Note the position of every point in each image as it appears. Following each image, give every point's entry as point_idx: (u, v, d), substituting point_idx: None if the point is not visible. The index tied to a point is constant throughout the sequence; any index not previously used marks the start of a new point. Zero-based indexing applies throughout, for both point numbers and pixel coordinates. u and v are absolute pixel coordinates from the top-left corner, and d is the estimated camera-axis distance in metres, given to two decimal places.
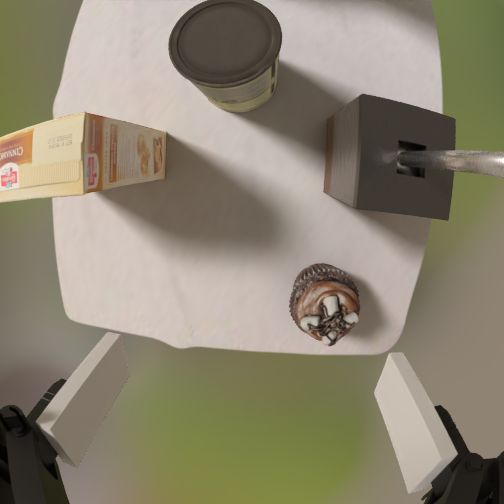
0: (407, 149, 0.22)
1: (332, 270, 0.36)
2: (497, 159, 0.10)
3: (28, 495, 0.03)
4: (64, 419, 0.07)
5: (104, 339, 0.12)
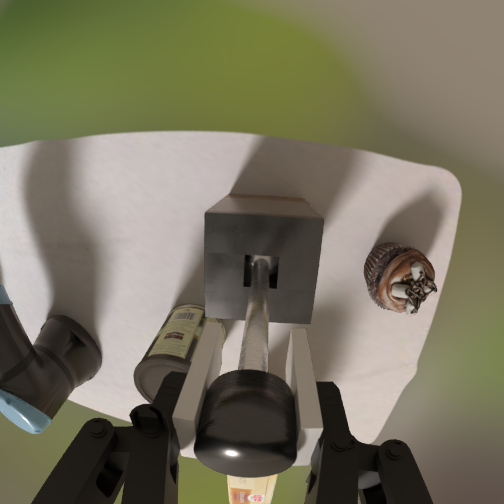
0: (251, 261, 0.27)
1: (370, 273, 0.36)
2: None
3: (143, 502, 0.05)
4: (199, 408, 0.09)
5: (208, 329, 0.14)
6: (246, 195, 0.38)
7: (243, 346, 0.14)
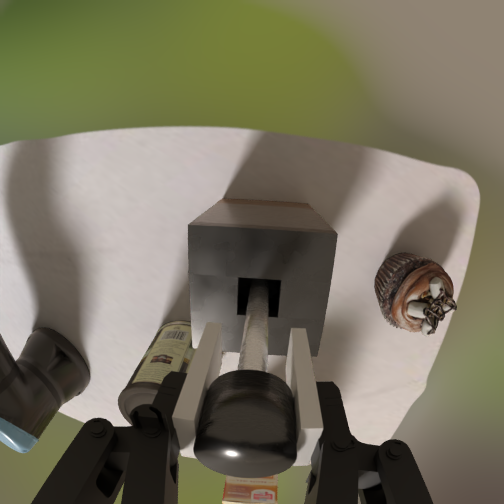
0: None
1: (383, 289, 0.31)
2: None
3: (143, 502, 0.05)
4: (199, 408, 0.09)
5: (208, 329, 0.14)
6: (242, 200, 0.33)
7: (243, 347, 0.14)
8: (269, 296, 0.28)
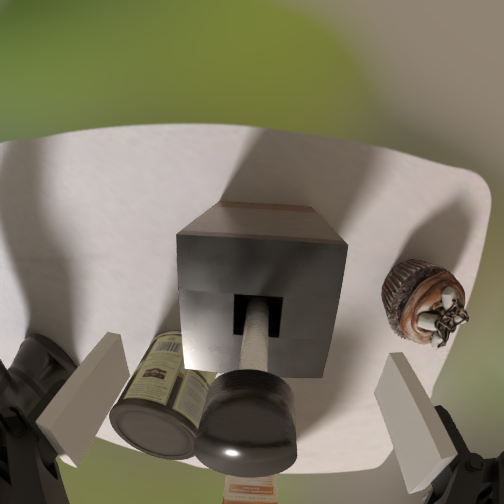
0: None
1: (391, 299, 0.29)
2: None
3: (28, 495, 0.03)
4: (64, 419, 0.07)
5: (104, 339, 0.12)
6: (240, 203, 0.30)
7: (243, 346, 0.14)
8: (269, 296, 0.28)
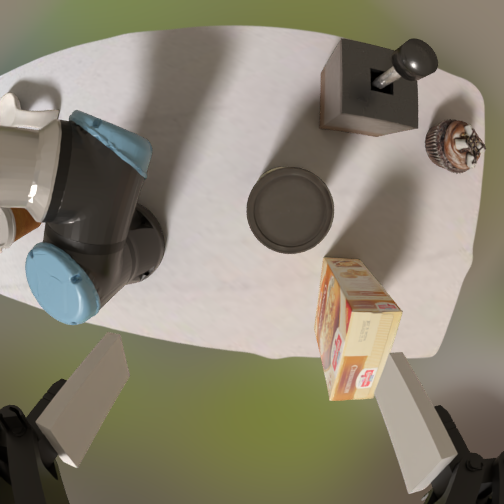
0: None
1: (434, 137, 0.37)
2: (394, 77, 0.23)
3: (28, 495, 0.03)
4: (64, 419, 0.07)
5: (104, 339, 0.12)
6: None
7: (390, 68, 0.23)
8: None
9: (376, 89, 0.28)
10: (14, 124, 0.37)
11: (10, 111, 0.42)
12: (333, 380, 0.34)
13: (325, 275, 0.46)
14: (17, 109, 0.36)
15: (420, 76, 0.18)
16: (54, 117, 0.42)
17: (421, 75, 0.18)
